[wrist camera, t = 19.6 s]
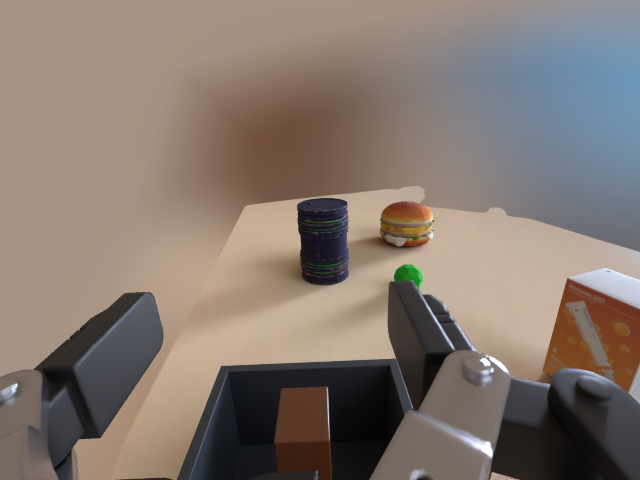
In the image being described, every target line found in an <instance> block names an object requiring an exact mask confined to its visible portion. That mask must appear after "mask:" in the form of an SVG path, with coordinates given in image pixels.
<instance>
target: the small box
mask: <svg viewBox="0 0 640 480" xmlns="http://www.w3.org/2000/svg"><path fill="white" fill-rule="evenodd" d="M565 368H576V369H582V370H586V371H590V372H593V373H596V374H598V375H601V376H603V377H605V378H607V379H609V380H611V381H613V382H614V383H616V384H617V385H619V386H620V387H622V388H623V389H624V390H625V391H626V392H628V393H629V394H630V395H631V396H632V397H633V398H634V399H635V400H636V401H637V402H638V403H639V404H640V280H639V279H635V278H632V277H629V276H626V275H624V274H621V273H618V272H615V271H612V270H610V269H607V268H603V269H598V270H594V271H590V272H587V273H583V274H579V275H576V276H572V277H569V278H567V281H566V285H565V289H564V292H563V296H562V300H561V303H560V307H559V311H558V315H557V319H556V322H555V326H554V330H553V333H552V337H551V341H550V345H549V349H548V352H547V356H546V360H545V364H544V368H543V371H544V372H545V373H547V374H548V375H550V376H551V377H552V376H553V374H554V373H555V372H556V371H558V370H560V369H565Z"/></svg>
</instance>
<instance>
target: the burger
mask: <svg viewBox="0 0 640 480" xmlns="http://www.w3.org/2000/svg"><path fill="white" fill-rule="evenodd" d="M432 219H433V215H432V213H431V211H430V210H429V209H428V208H427V207H426V206H424V205H422V204H419V203H415V202H408V201H404V202H397V203H394V204H391V205H389V206H388V207H386V208H385V209H384V210H383V212H382V214H381V219H380V221H381V228H380V235H381V236H382V237H383V239H384V240H385V241H386V242H388V243H391V244H394V245H396V246H417V245H422V244H424V243H426V242H427V241H428V240H429V239H433V230H432V229H431V228H432V223H433V222H435V221H434V220H432Z"/></svg>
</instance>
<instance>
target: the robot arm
mask: <svg viewBox="0 0 640 480" xmlns="http://www.w3.org/2000/svg"><path fill="white" fill-rule="evenodd" d="M388 332H389V338H390V341H391V344H392V347H393V350H394V353H395V356H396V359H397V362H398V365H399V368H400V371H401V374H402V377H403V380H404V383H405V386H406V389H407V391H408V394H409V397H410V400H411V403H412V406H413V409H412V408H411V409H410V410H409V411H408V412H407V413H406V415H405V417H404V418H403V420H402V422H401V424H400V425H399V427H398V429H397V431H396V433H395V434H394V436H393V438H392V440H391V442H390V443H389V445H388V447H387V449H386V451H385V452H384V454H383V456H382V458H381V460H380V461H379V463H378V465H377V467H376V469H375V470H374V472H373V474H372V476H371V478H370V479H369V480H490V478H491V473H492V472H494V473H498V474H501V475H505V476H509V477H512V478H516V479H519V480H640V404H639V403H638V402H637V401H636V400H635V399H634V398H633V397H632V396H631V395H630V394H629V393H628V392H626V391H625V390H624V389H623V388H622V387H620V386H619V385H617V384H616V383H614V382H613V381H611V380H609V379H607V378H605V377H603V376H601V375H598V374H596V373H593V372H590V371H586V370H582V369H576V368H565V369H560V370H558V371H556V372H555V373H554V374H553V376H552V380H551V384H546V383H541V382H535V381H530V380H525V379H520V378H516V377H512V376H510V375H509V372H508V371H507V369H506V368H505V367H504V366H503V365H502V364H501V363H500V362H498V361H497V360H496V359H494V358H492V357H490V356H488V355H486V354H483V353H480V352H477V351H476V350H475V348H474V347H473V346H472V344H471V343H470V341H469V340H468V338H467V337H466V335H465V334H464V333H463V331H462V330H461V328H460V327H459V325H458V324H457V323H455V320H454V318H453V317H452V315H450V313H449V311H448V310H447V308H446V307H445V305H444V304H443V303H442V302H441V301H439V300H438V299H436V298H435V297H433V296H432V295H422V294H421V292H420V291H419V289H418V288H417V286H416V284H415V283H414V281H392V282H390V284H389V299H388ZM162 343H163V329H162V325H161V321H160V317H159V314H158V309H157V305H156V301H155V298H154V296H153V294H152V293H150V292H136V293H125V294H123V295H122V296H121V297H120V298H119V299H118V300H117V301H116V302H115V303H113V304H112V305H111V306H110V307H109V308H108V309H106V310H105V311H103V312H101V313H100V314H98V315H96V316H94V317H93V318H91V319H90V320H89V321H88V322H87V323H85V325H83V326H82V327H81V328H80V330H78V331H76V332H75V333H74V334H73V335H72V336H71V337H70V339H69V340H66V341H65V342H64V343H63V344H62V345H61V346H59V347H58V348H57V349H56V350H55V351H54V352H53V353H51V354H50V355H49V356H48V357H47V358H46V359H45V360H44V361H42V362H41V363H40V364H39V365H38V366H37V367H36V368H35V369H33V370H21V371H17V372H13V373H10V374H7V375H4V376H2V377H0V480H78V466H77V455H76V452H75V449H74V447H73V446H74V445H75V444H76V442H77V441H78V439H91V438H101V436H102V435H103V433H104V432H105V430H106V429H107V428H108V426H109V424H110V423H111V422H112V420H113V419H114V417H115V415H116V414H117V413H118V411H119V409H120V408H121V407H122V405H123V404H124V402H125V401H126V399H127V398H128V396H129V395H130V393H131V392H132V390H133V389H134V387H135V386H136V384H137V383H138V382H139V380H140V379H141V377H142V376H143V374H144V373H145V371H146V370H147V368H148V367H149V365H150V364H151V362H152V361H153V359H154V358H155V356H156V355H157V353H158V352H159V350H160V349H161V346H162ZM122 480H172V479H168V478H145V479H122ZM248 480H319V477H318V471H305V472H282V473H267V474H264V475H261V476H257V477H254V478H251V479H248Z"/></svg>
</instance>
